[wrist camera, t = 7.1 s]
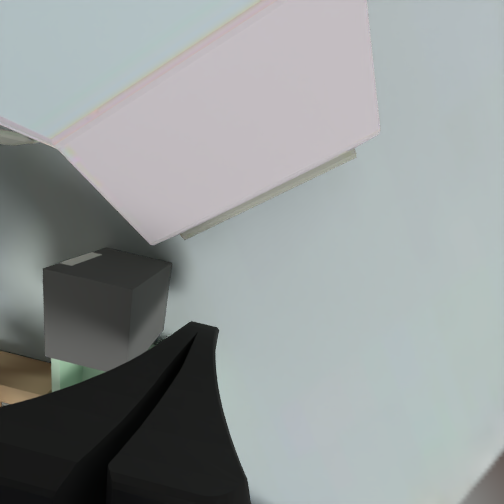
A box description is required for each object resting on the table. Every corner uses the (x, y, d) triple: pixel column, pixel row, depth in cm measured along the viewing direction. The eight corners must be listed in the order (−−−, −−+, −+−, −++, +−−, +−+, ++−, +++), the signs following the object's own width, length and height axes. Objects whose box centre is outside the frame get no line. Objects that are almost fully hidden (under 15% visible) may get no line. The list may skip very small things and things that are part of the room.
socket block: (74, 369, 16) (43, 395, 14) (73, 444, 18) (46, 478, 16) (-21, 345, 16) (-65, 368, 14) (-13, 421, 18) (-51, 452, 16)
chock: (172, 262, 14) (132, 289, 10) (164, 329, 15) (125, 377, 11) (106, 247, 14) (42, 268, 10) (103, 314, 15) (44, 356, 11)
